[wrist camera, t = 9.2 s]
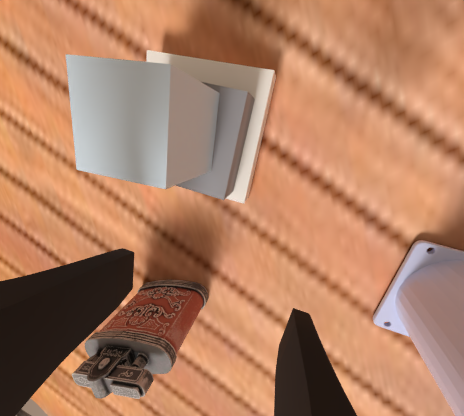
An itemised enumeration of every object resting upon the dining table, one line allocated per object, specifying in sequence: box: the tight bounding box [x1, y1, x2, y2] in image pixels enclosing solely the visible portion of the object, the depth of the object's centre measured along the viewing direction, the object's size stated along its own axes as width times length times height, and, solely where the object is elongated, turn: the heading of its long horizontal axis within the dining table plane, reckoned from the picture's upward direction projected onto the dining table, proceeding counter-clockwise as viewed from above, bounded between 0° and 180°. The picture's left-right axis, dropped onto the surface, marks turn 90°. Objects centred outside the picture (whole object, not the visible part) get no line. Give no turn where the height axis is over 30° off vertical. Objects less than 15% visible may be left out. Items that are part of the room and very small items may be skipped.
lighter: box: [72, 280, 208, 399], centre depth 19 cm, size 8×3×10 cm, turn 101°
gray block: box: [66, 54, 220, 189], centre depth 11 cm, size 4×4×6 cm
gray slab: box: [176, 82, 255, 200], centre depth 15 cm, size 6×6×2 cm
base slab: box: [146, 50, 276, 203], centre depth 17 cm, size 9×9×2 cm
